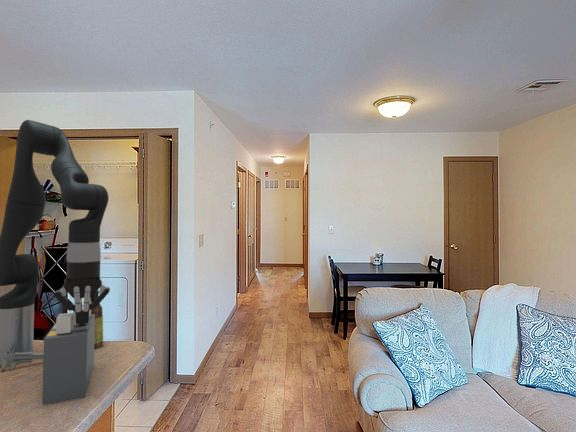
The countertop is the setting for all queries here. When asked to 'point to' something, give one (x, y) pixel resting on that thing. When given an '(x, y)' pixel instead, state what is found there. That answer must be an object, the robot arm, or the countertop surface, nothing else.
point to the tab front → (64, 323)
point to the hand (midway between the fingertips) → (82, 325)
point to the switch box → (68, 363)
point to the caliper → (19, 358)
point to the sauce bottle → (97, 322)
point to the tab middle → (75, 317)
